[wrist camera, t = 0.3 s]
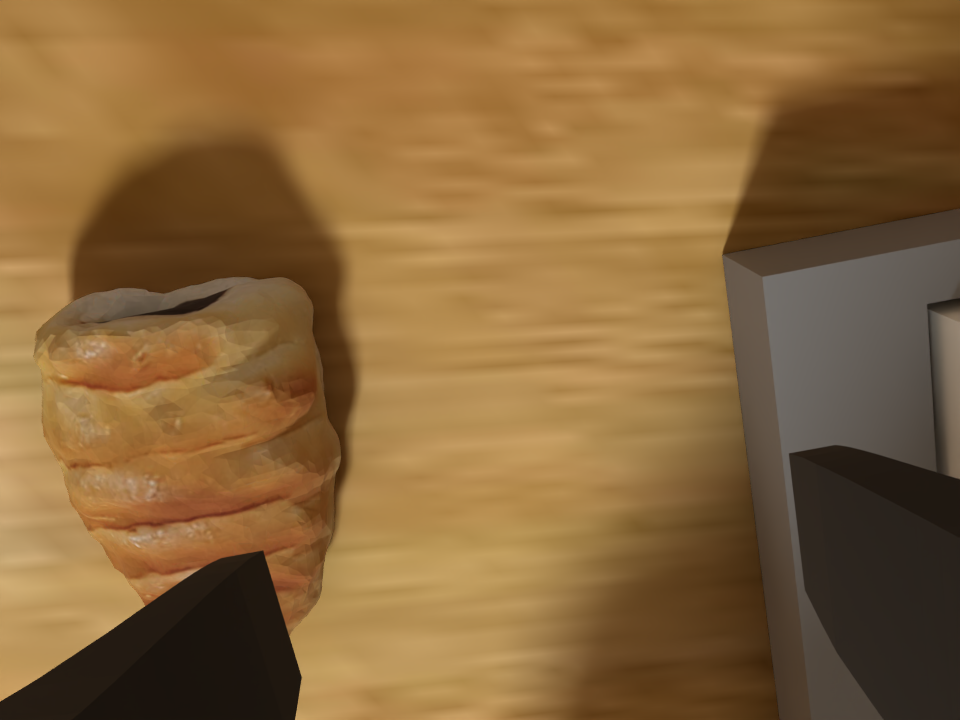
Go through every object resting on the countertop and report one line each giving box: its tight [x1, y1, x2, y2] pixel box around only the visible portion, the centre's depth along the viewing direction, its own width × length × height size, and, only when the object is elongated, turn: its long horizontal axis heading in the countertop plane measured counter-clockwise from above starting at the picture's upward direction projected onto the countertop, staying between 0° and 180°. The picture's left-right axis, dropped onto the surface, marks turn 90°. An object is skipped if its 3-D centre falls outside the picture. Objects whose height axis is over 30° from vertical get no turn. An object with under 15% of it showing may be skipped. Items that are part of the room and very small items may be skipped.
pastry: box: [33, 277, 341, 635], centre depth 20 cm, size 9×7×4 cm
